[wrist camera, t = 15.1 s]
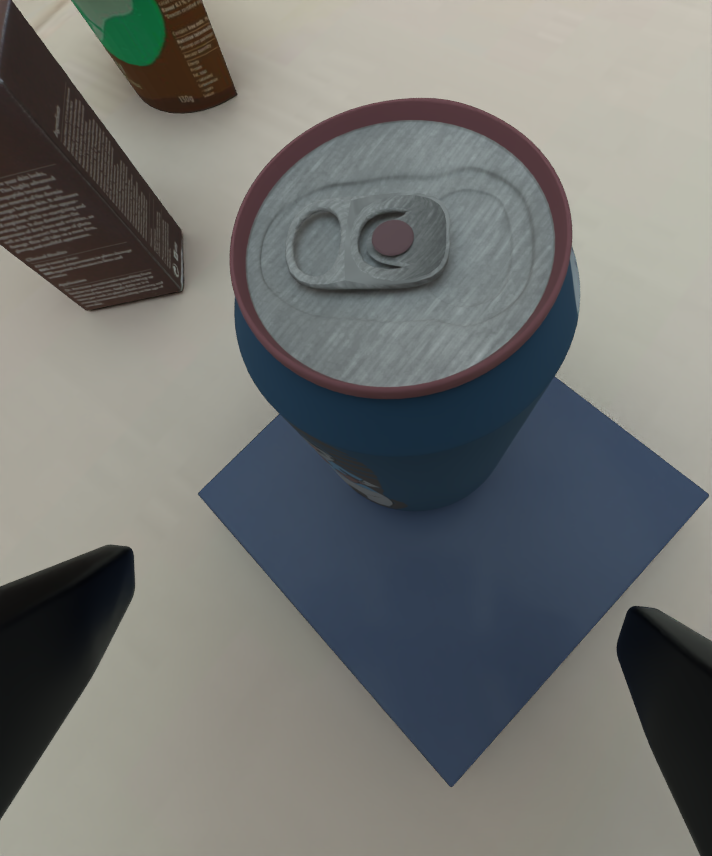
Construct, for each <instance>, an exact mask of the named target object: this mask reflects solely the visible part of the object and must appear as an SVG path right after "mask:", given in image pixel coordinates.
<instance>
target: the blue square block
mask: <svg viewBox="0 0 712 856" xmlns="http://www.w3.org/2000/svg"><path fill="white" fill-rule="evenodd" d="M198 495H199V496H200V497H201V498H202V500H203V501H204V502H205V503H206V504H207V505H208V506H209V508H210V509H211V510H212V511H213V512H214V513H215V515H216V516H217V517H218V518H219V519H220V520H221V522H222V523H223V524H224V525H225V526H226V527H227V529H228V530H229V531H230V532H231V533H232V534H233V535H234V537H235V538H236V539H237V540H238V541H239V542H240V544H241V545H242V546H243V547H244V548H245V549H246V551H247V552H248V553H249V554H250V555H251V556H252V558H253V559H254V560H255V561H256V562H257V563H258V565H259V566H260V567H261V568H262V569H263V570H264V571H265V573H266V574H267V575H268V576H269V577H270V578H271V580H272V581H273V582H274V583H275V584H276V585H277V587H278V588H279V589H280V590H281V591H282V592H283V594H284V595H285V596H286V597H287V598H288V599H289V600H290V602H291V603H292V604H293V605H294V606H295V607H296V609H297V610H298V611H299V612H300V613H301V614H302V616H303V617H304V618H305V619H306V620H307V621H308V623H309V624H310V625H311V626H312V627H313V628H314V629H315V631H316V632H317V633H318V634H319V635H320V636H321V638H322V639H323V640H324V641H325V642H326V643H327V645H328V646H329V647H330V648H331V649H332V650H333V652H334V653H335V654H336V655H337V656H338V657H339V658H340V660H341V661H342V662H343V663H344V664H345V665H346V667H347V668H348V669H349V670H350V671H351V672H352V674H353V675H354V676H355V677H356V678H357V679H358V681H359V682H360V683H361V684H362V685H363V686H364V687H365V689H366V690H367V691H368V692H369V693H370V694H371V696H372V697H373V698H374V699H375V700H376V701H377V703H378V704H379V705H380V706H381V707H382V708H383V710H384V711H385V712H386V713H387V714H388V715H389V716H390V718H391V719H392V720H393V721H394V722H395V723H396V725H397V726H398V727H399V728H400V729H401V730H402V732H403V733H404V734H405V735H406V736H407V737H408V739H409V740H410V741H411V742H412V743H413V744H414V745H415V747H416V748H417V749H418V750H419V751H420V752H421V754H422V755H423V756H424V757H425V758H426V759H427V761H428V762H429V763H430V764H431V765H432V766H433V768H434V769H435V770H436V771H437V772H438V773H439V774H440V776H441V777H442V778H443V779H444V780H445V781H446V783H447V784H448V785H449V786H450V787H452V786H454V784H455V783H456V782H457V781H458V780H459V779H460V778H461V777H462V775H463V774H464V773H465V772H466V771H467V770H468V769H469V767H470V766H471V765H472V764H473V763H474V762H475V761H476V760H477V758H478V757H479V756H480V755H481V754H482V753H483V752H484V750H485V749H486V748H487V747H488V746H489V745H490V744H491V743H492V741H493V740H494V739H495V738H496V737H497V736H498V735H499V734H500V732H501V731H502V730H503V729H504V728H505V727H506V726H507V724H508V723H509V722H510V721H511V720H512V719H513V718H514V717H515V715H516V714H517V713H518V712H519V711H520V710H521V709H522V707H523V706H524V705H525V704H526V703H527V702H528V701H529V700H530V698H531V697H532V696H533V695H534V694H535V693H536V692H537V690H538V689H539V688H540V687H541V686H542V685H543V684H544V683H545V681H546V680H547V679H548V678H549V677H550V676H551V675H552V673H553V672H554V671H555V670H556V669H557V668H558V667H559V666H560V664H561V663H562V662H563V661H564V660H565V659H566V658H567V656H568V655H569V654H570V653H571V652H572V651H573V650H574V649H575V647H576V646H577V645H578V644H579V643H580V642H581V641H582V639H583V638H584V637H585V636H586V635H587V634H588V633H589V632H590V630H591V629H592V628H593V627H594V626H595V625H596V624H597V623H598V621H599V620H600V619H601V618H602V617H603V616H604V615H605V613H606V612H607V611H608V610H609V609H610V608H611V607H612V606H613V604H614V603H615V602H616V601H617V600H618V599H619V598H620V596H621V595H622V594H623V593H624V592H625V591H626V590H627V589H628V587H629V586H630V585H631V584H632V583H633V582H634V581H635V579H636V578H637V577H638V576H639V575H640V574H641V573H642V572H643V570H644V569H645V568H646V567H647V566H648V565H649V564H650V562H651V561H652V560H653V559H654V558H655V557H656V556H657V555H658V553H659V552H660V551H661V550H662V549H663V548H664V547H665V545H666V544H667V543H668V542H669V541H670V540H671V539H672V538H673V536H674V535H675V534H676V533H677V532H678V531H679V530H680V529H681V527H682V526H683V525H684V524H685V523H686V522H687V521H688V519H689V518H690V517H691V516H692V515H693V514H694V513H695V512H696V510H697V509H698V508H699V507H700V506H701V505H702V504H703V502H704V501H705V500H706V499H707V498H708V497H709V494H708V493H707V492H705V491H704V490H703V489H701V488H700V487H699V486H697V485H696V484H695V483H694V482H692V481H691V480H690V479H688V478H687V477H686V476H684V475H683V474H682V473H680V472H679V471H678V470H676V469H675V468H674V467H673V466H671V465H670V464H669V463H667V462H666V461H665V460H663V459H662V458H661V457H659V456H658V455H657V454H656V453H654V452H653V451H652V450H650V449H649V448H648V447H646V446H645V445H644V444H642V443H641V442H640V441H638V440H637V439H636V438H635V437H633V436H632V435H631V434H629V433H628V432H627V431H625V430H624V429H623V428H621V427H620V426H619V425H618V424H616V423H615V422H614V421H612V420H611V419H610V418H608V417H607V416H606V415H604V414H603V413H602V412H601V411H599V410H598V409H597V408H595V407H594V406H593V405H591V404H590V403H589V402H587V401H586V400H585V399H583V398H582V397H581V396H580V395H578V394H577V393H576V392H574V391H573V390H572V389H570V388H569V387H568V386H566V385H565V384H564V383H563V382H561V381H560V380H559V379H557V378H556V377H555V376H554V378H553V379H552V381H551V382H550V384H549V385H548V387H547V389H546V390H545V392H544V393H543V395H542V396H541V398H540V399H539V401H538V402H537V404H536V406H535V407H534V409H533V410H532V412H531V413H530V415H529V416H528V418H527V420H526V421H525V423H524V424H523V426H522V427H521V429H520V430H519V432H518V433H517V435H516V437H515V438H514V440H513V441H512V443H511V444H510V446H509V447H508V449H507V450H506V452H505V454H504V455H503V457H502V458H501V460H500V461H499V463H498V464H497V466H496V467H495V469H494V470H493V472H492V473H491V475H490V476H489V477H488V478H487V479H486V481H485V482H484V483H483V484H482V485H481V486H479V487H478V488H477V489H476V490H475V491H473V492H472V493H471V494H469V495H468V496H466V497H465V498H463V499H461V500H459V501H457V502H455V503H453V504H450V505H448V506H445V507H442V508H438V509H433V510H427V511H402V510H396V509H392V508H388V507H385V506H382V505H379V504H377V503H374V502H372V501H370V500H368V499H366V498H365V497H363V496H362V495H360V494H359V493H357V492H356V491H355V490H354V489H352V488H351V487H350V486H349V485H348V484H347V483H346V482H345V481H344V480H343V479H342V478H341V477H340V476H339V475H338V474H337V472H336V471H335V470H334V469H333V468H332V467H331V466H330V465H329V464H328V463H327V462H326V461H325V460H324V459H323V458H322V457H321V456H320V455H319V454H318V453H317V452H316V451H315V450H314V449H313V448H312V447H311V446H310V445H309V444H308V443H307V441H306V440H305V439H304V438H303V437H302V436H301V435H300V434H299V433H298V432H297V431H296V430H295V429H294V428H293V427H292V426H291V425H290V424H289V423H288V422H287V421H286V420H285V419H284V418H283V417H282V416H281V415H280V414H279V415H278V416H277V417H276V418H275V419H274V420H273V421H272V422H271V423H269V424H268V425H267V426H266V427H265V428H264V429H263V430H262V431H261V432H260V433H259V434H258V435H257V436H256V437H255V438H254V439H253V440H252V441H251V442H250V443H249V444H248V445H247V446H246V447H245V448H244V449H243V450H242V451H241V452H240V453H239V454H238V455H237V456H236V457H235V458H234V459H233V460H232V461H231V462H230V463H228V464H227V465H226V466H225V467H224V468H223V469H222V470H221V471H220V472H219V473H218V474H217V475H216V476H215V477H214V478H213V479H212V480H211V481H210V482H209V483H208V484H207V485H206V486H205V487H204V488H203V489H202V490H201V491H200V492H199V493H198Z"/></svg>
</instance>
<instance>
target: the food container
mask: <svg viewBox="0 0 712 856" xmlns="http://www.w3.org/2000/svg"><path fill="white" fill-rule="evenodd" d="M71 1H72V2H73V4H74V5H75V6H76V8H77V9H78V11H79V12H80V13H81V15H82V16H83V18H84V19H85V20H86V22H87V23H88V25H89V26H90V27H91V29H92V30H93V32H94V33H95V35H96V36H97V37H98V39H99V40H100V42H101V43H102V44H103V46H104V47H105V49H106V50H107V51H108V53H109V54H110V56H111V57H112V58H113V60H114V61H115V63H116V64H117V66H118V67H119V68H120V70H121V71H122V73H123V74H124V75H125V77H126V78H127V80H128V81H129V82H130V84H131V85H132V87H133V88H134V89H135V91H136V92H137V94H138V95H139V96H140V97H141V99H142V100H143V101H144V102H146V103H147V104H149V105H150V106H152V107H154V108H156V109H159V110H162V111H166V112H173V113H188V112H195V111H200V110H204V109H208V108H211V107H214V106H216V105H218V104H221V103H223V102H225V101H227V100H229V99H230V98H232V97H234V96H235V95H237V92H236V90H235V87H234V84H233V82H232V79H231V76H230V74H229V71H228V68H227V66H226V63H225V61H224V58H223V55H222V53H221V50H220V47H219V45H218V42H217V39H216V37H215V34H214V31H213V29H212V26H211V24H210V21H209V18H208V16H207V13H206V10H205V8H204V5H203V2H202V0H71Z"/></svg>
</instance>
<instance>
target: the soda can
mask: <svg viewBox="0 0 712 856" xmlns="http://www.w3.org/2000/svg"><path fill="white" fill-rule="evenodd" d="M230 274H231V281H232V286H233V290H234V294H235V311H234V316H235V329H236V335H237V340H238V344H239V348H240V352H241V355H242V358H243V361H244V363H245V365H246V368H247V370H248V372H249V374H250V376H251V378H252V379H253V381H254V383H255V385H256V386H257V388H258V389H259V391H260V392H261V393H262V395H263V396H264V397H265V398H266V400H267V401H268V402H269V403H270V404H271V405H272V406H273V407H274V408H275V409H276V410H277V412H278V413H279V414H280V415H281V416H282V417H283V418H284V419H285V420H286V421H287V422H288V423H289V424H290V425H291V426H292V427H293V428H294V429H295V430H296V431H297V432H298V433H299V434H300V435H301V436H302V437H303V438H304V439H305V440H306V441H307V443H308V444H309V445H310V446H311V447H312V448H313V449H314V450H315V451H316V452H317V453H318V454H319V455H320V456H321V457H322V458H323V459H324V460H325V461H326V462H327V463H328V464H329V465H330V466H331V467H332V468H333V469H334V470H335V471H336V472H337V474H338V475H339V476H340V477H341V478H342V479H343V480H344V481H345V482H346V483H347V484H348V485H349V486H350V487H351V488H352V489H354V490H355V491H356V492H357V493H359V494H360V495H362V496H363V497H365V498H366V499H368V500H370V501H372V502H374V503H377V504H379V505H382V506H385V507H388V508H392V509H396V510H402V511H427V510H433V509H438V508H442V507H445V506H448V505H450V504H453V503H455V502H457V501H459V500H461V499H463V498H465V497H466V496H468V495H469V494H471V493H472V492H473V491H475V490H476V489H477V488H478V487H479V486H481V485H482V484H483V483H484V482H485V481H486V479H487V478H488V477H489V476H490V475H491V473H492V472H493V470H494V469H495V467H496V466H497V464H498V463H499V461H500V460H501V458H502V457H503V455H504V454H505V452H506V450H507V449H508V447H509V446H510V444H511V443H512V441H513V440H514V438H515V437H516V435H517V433H518V432H519V430H520V429H521V427H522V426H523V424H524V423H525V421H526V420H527V418H528V416H529V415H530V413H531V412H532V410H533V409H534V407H535V406H536V404H537V402H538V401H539V399H540V398H541V396H542V395H543V393H544V392H545V390H546V389H547V387H548V385H549V384H550V382H551V381H552V379H553V378H554V376H555V375H556V373H557V371H558V370H559V368H560V366H561V364H562V363H563V361H564V359H565V357H566V355H567V352H568V350H569V348H570V345H571V342H572V340H573V337H574V333H575V330H576V326H577V321H578V315H579V307H580V280H579V272H578V267H577V262H576V258H575V254H574V251H573V248H572V221H571V213H570V208H569V204H568V200H567V197H566V194H565V191H564V188H563V186H562V184H561V181H560V179H559V177H558V175H557V174H556V172H555V170H554V168H553V167H552V165H551V164H550V162H549V161H548V159H547V158H546V157H545V156H544V154H543V153H542V152H541V151H540V150H539V149H538V148H537V147H536V146H535V145H534V144H533V142H531V141H530V140H529V139H528V138H527V137H526V136H525V135H523V134H522V133H521V132H519V131H518V130H517V129H515V128H514V127H512V126H511V125H509V124H508V123H506V122H505V121H503V120H501V119H499V118H497V117H495V116H494V115H491V114H489V113H487V112H485V111H483V110H480V109H478V108H475V107H472V106H470V105H466V104H463V103H459V102H455V101H450V100H444V99H436V98H408V99H397V100H389V101H383V102H378V103H373V104H369V105H365V106H361V107H358V108H354V109H351V110H348V111H345V112H343V113H340V114H338V115H335V116H333V117H331V118H329V119H327V120H325V121H323V122H321V123H319V124H317V125H315V126H314V127H312V128H310V129H308V130H307V131H305V132H304V133H302V134H301V135H299V136H298V137H297V138H295V139H294V140H293V141H291V142H290V143H289V144H288V145H286V146H285V147H284V148H283V149H282V150H281V151H280V152H279V153H278V154H277V155H276V156H275V157H274V158H273V159H272V160H271V161H270V162H269V163H268V164H267V165H266V166H265V167H264V169H263V170H262V171H261V173H260V174H259V175H258V176H257V178H256V179H255V181H254V182H253V184H252V185H251V187H250V189H249V190H248V192H247V194H246V196H245V198H244V200H243V202H242V204H241V207H240V209H239V212H238V214H237V217H236V220H235V224H234V228H233V232H232V237H231V245H230Z"/></svg>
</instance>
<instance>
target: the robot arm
mask: <svg viewBox="0 0 712 856" xmlns="http://www.w3.org/2000/svg"><path fill="white" fill-rule="evenodd" d="M134 591H135V572H134V554H133V551H132V549H131V548H130V547H127V546H119V545H105V546H103V547H100V548H98V549H95V550H93V551H90V552H88V553H85V554H82V555H80V556H77V557H75V558H72V559H70V560H67V561H65V562H62V563H59V564H57V565H54V566H52V567H49V568H47V569H44V570H41V571H39V572H36V573H34V574H31V575H29V576H26V577H24V578H21V579H18V580H16V581H13V582H11V583H8V584H6V585H3V586H1V587H0V819H1V818H2V816H3V815H4V813H5V812H6V810H7V809H8V807H9V805H10V804H11V802H12V801H13V799H14V798H15V796H16V795H17V793H18V791H19V790H20V788H21V787H22V785H23V784H24V782H25V781H26V779H27V777H28V776H29V774H30V773H31V771H32V770H33V768H34V767H35V765H36V764H37V762H38V760H39V759H40V757H41V756H42V754H43V753H44V751H45V750H46V748H47V746H48V745H49V743H50V742H51V740H52V739H53V737H54V736H55V734H56V732H57V731H58V729H59V728H60V726H61V725H62V723H63V722H64V720H65V719H66V717H67V715H68V714H69V712H70V711H71V709H72V708H73V706H74V705H75V703H76V701H77V700H78V698H79V697H80V695H81V694H82V692H83V691H84V689H85V687H86V686H87V684H88V682H89V681H90V679H91V678H92V676H93V674H94V672H95V670H96V669H97V667H98V665H99V663H100V661H101V659H102V657H103V655H104V653H105V651H106V649H107V647H108V645H109V643H110V641H111V639H112V637H113V635H114V634H115V632H116V630H117V628H118V626H119V624H120V622H121V620H122V618H123V616H124V614H125V612H126V610H127V608H128V606H129V604H130V602H131V600H132V598H133V595H134ZM617 656H618V660H619V662H620V665H621V668H622V671H623V674H624V676H625V679H626V682H627V685H628V688H629V690H630V693H631V696H632V699H633V702H634V704H635V707H636V710H637V713H638V716H639V719H640V721H641V724H642V727H643V730H644V732H645V735H646V737H647V740H648V743H649V745H650V747H651V750H652V752H653V754H654V756H655V759H656V761H657V763H658V765H659V767H660V770H661V772H662V774H663V776H664V778H665V780H666V783H667V785H668V787H669V789H670V791H671V793H672V795H673V798H674V800H675V802H676V804H677V806H678V808H679V811H680V813H681V815H682V817H683V819H684V821H685V823H686V826H687V828H688V830H689V832H690V834H691V836H692V838H693V841H694V843H695V845H696V847H697V849H698V851H699V854H700V856H712V641H710V640H709V639H707V638H705V637H704V636H702V635H700V634H698V633H697V632H695V631H693V630H692V629H690V628H688V627H687V626H685V625H683V624H682V623H680V622H678V621H677V620H675V619H673V618H672V617H670V616H668V615H667V614H665V613H663V612H661V611H660V610H658V609H655V608H649V607H640V606H633V607H631V608H630V609H629V610H628V611H627V614H626V617H625V620H624V623H623V626H622V629H621V632H620V635H619V638H618V642H617Z"/></svg>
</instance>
